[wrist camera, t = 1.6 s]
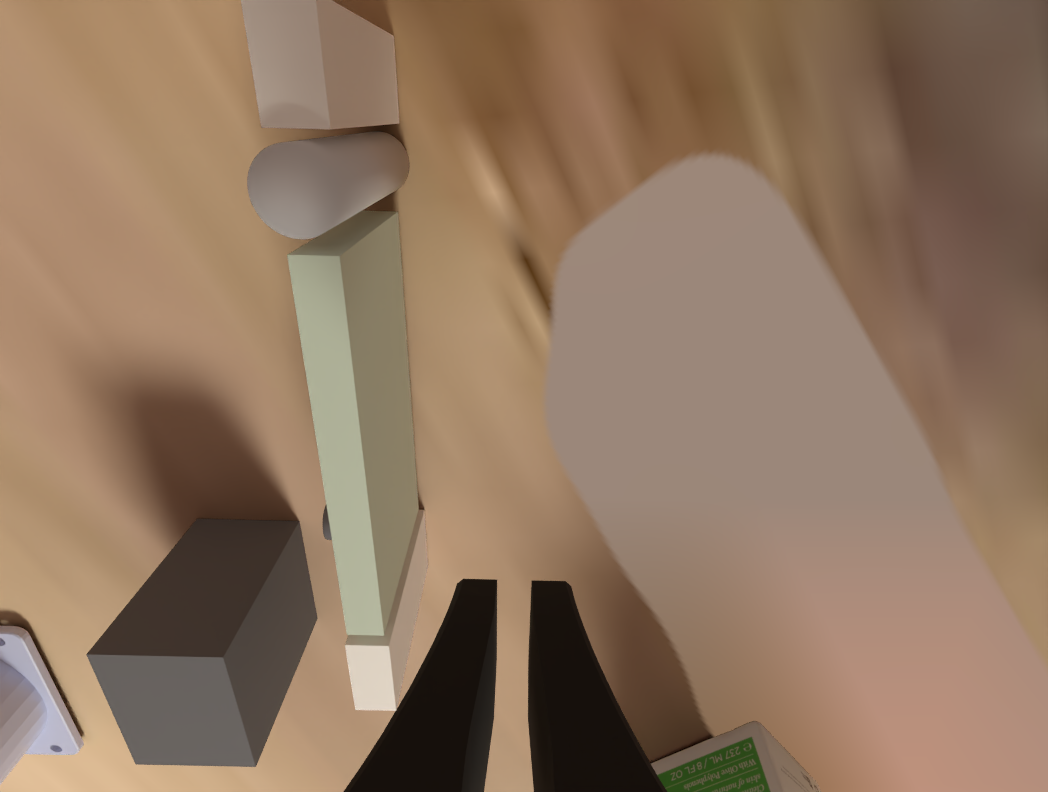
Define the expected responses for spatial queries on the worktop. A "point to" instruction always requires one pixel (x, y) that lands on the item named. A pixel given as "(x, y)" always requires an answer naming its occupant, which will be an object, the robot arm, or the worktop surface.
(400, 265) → the door
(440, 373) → the worktop surface
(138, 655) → the grey block
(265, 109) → the wall frame
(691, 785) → the skincare box
